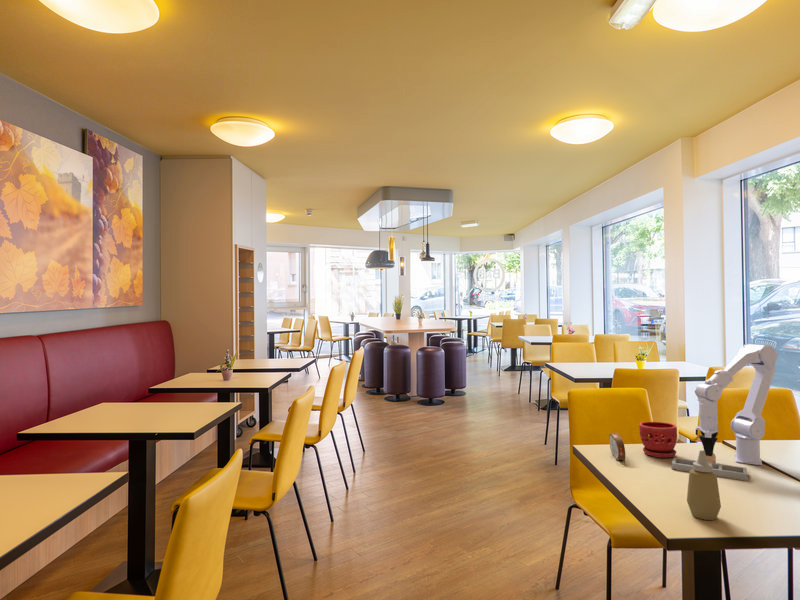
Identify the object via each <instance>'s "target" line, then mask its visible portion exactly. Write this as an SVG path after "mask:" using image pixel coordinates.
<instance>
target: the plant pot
mask: <svg viewBox="0 0 800 600" xmlns="http://www.w3.org/2000/svg"><path fill="white" fill-rule="evenodd" d="M638 426H639V429H638V430H639V436H640V440H641V443H642V445H643V448H642V451H643V452H644V454H646V455H648V456H649V455H650V456H649V457H654V458H655V457H656V458H662V459H663V458H664V459H665V458H668V457H669V458H672V457H673V458H674V456H676V454H677V450H675V448H676V445H677V440H678V427H677V426H676V424H673V423H671V422H670V423H669V422H665V421H664V422H662V421H643V422H639V425H638Z"/></svg>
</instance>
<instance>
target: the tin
mask: <svg viewBox="0 0 800 600" xmlns="http://www.w3.org/2000/svg"><path fill="white" fill-rule="evenodd" d="M608 437H609V448H610V452H611V454H612V455H613V457H614V458H615V459H616V460H617V461H625V460H626V448H625V447H626V446H625V442H624V440H623V437H621V436H620V435H619V434H618V432H615V433H613V432H612V433H609V435H608Z"/></svg>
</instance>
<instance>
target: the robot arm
mask: <svg viewBox="0 0 800 600" xmlns="http://www.w3.org/2000/svg"><path fill="white" fill-rule="evenodd" d="M778 356H779V354H778V352H777V351H776V349H775V347H774V346H772V345H770V344H766V345H764V344H755V343H745V344H744V345H743V346H742V347H741V348H740V349H738V353H737V355H736V356H734V358H733V359H732V360H731V361H730V362H729V363H728V365H727V366H726V367H725V368H724V369H718V370H715V371H714V373H713V374H712V375H711V376H710V377H709V378H708V379H706V380H705V382H703V383H699V384H698V385H697V386H696V388H695V390H694V393H695V396H696V397H697V401H698V413H699V414H698V417H699V420H698V421H699V424H698V425H699V426H695V429H696V430H699V431H700V434H699V436H698V437H699V440H700V442H701V444H702V448H703V451H705V454H706V456H712V455H713V453H714V449H715V445H716V443H717V440H718V437H717V436H718V434H719V428H718V425H719V424H718V423H719V422H718V421H719V420H718V419H719V418H718V400H719V399H720V398H721V397H722V393H723V390H725V388H727V387H728V386H729V385H730V384H731V383H732V382H733V381H734V378H733V377H734V376H735V375H736V374H737V373H739V372H740V371H741V370H742V369H743V368H744V367H746V366H747V365H748V364H750V365H751V367H753V368H754V370H755V373H754V376H753V379H752V382H751V386H750V388H749V391H748V394H747V397H746V400H745V403H744V406H743V409H741V410H740V411H738V412H736V414H735V416H734V418H732V420H731V421H730V429H731V431H732V432H734V436H735V442H736V443H735V447H736V448H735V449H736V452H735V453H736V454H735V455H734V460H735V463H741V464H747V465H755V466H763V463H762V457H761V447H760V446H761V442H760V441H761V440H762V438H763V437H764V435H765V433H766V429H765V427H766V426H765V425H766V420H765V419H764V417H763V416H762V412H763V409H764V406H765V403H766V400H767V397H768V394H769V391H770V388H771V384H772V381H773V378H774V376H775V373H776V363H777V359H778Z"/></svg>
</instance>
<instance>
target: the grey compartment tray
mask: <svg viewBox="0 0 800 600" xmlns="http://www.w3.org/2000/svg"><path fill="white" fill-rule="evenodd" d="M697 461H698V460H694V459H693V460H692V459H687V458H680V457H679V458H678V457H673V459H672V461H671V470H674V469H676V471H681V470H682V472H686V473H688V472H689V471H691V470H692V469H693V462H697ZM708 463H709V462H708ZM709 464H711V465H712V466H713V471H712V472H713V473H715V474H716V475H717V477H720V478H726V477H727V478H726V479H733V480H741V481H747V482H748V470H747V467H743V466H737V465H728V464H723V463H717V462H716V463H709Z"/></svg>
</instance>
